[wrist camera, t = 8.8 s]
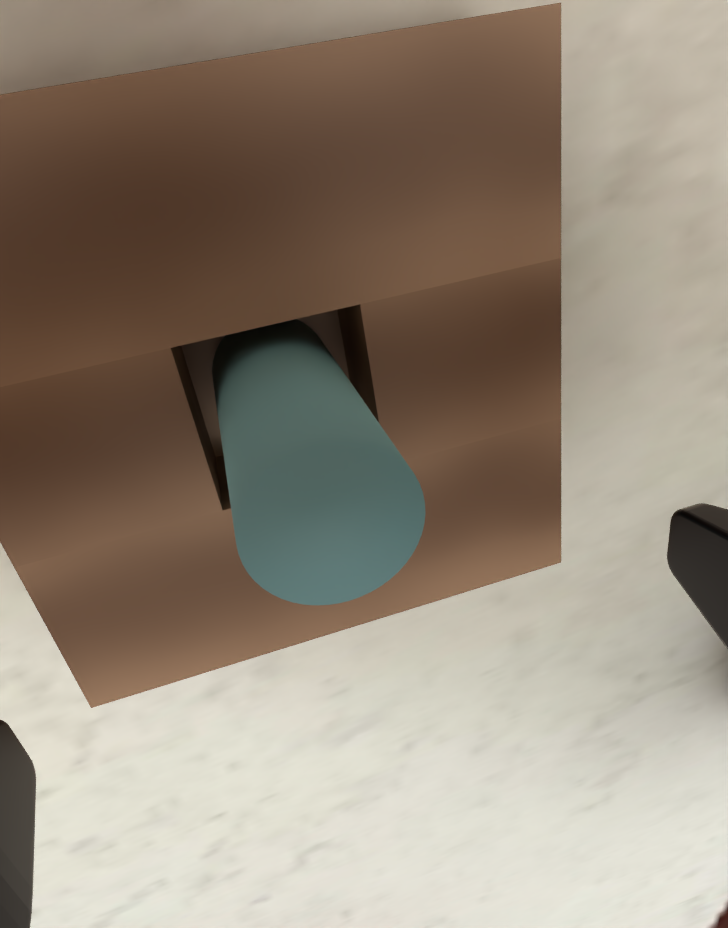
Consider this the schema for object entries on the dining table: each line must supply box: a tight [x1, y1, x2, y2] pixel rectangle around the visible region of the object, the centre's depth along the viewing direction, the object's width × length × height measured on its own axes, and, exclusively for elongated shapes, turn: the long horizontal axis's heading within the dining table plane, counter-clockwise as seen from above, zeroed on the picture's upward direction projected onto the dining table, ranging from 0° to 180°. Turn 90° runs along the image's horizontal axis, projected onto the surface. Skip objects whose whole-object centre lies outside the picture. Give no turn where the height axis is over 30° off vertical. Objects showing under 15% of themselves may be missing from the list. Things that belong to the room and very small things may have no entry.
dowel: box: [212, 319, 425, 605], centre depth 14 cm, size 3×3×8 cm
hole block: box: [0, 3, 561, 708], centre depth 17 cm, size 14×14×4 cm
